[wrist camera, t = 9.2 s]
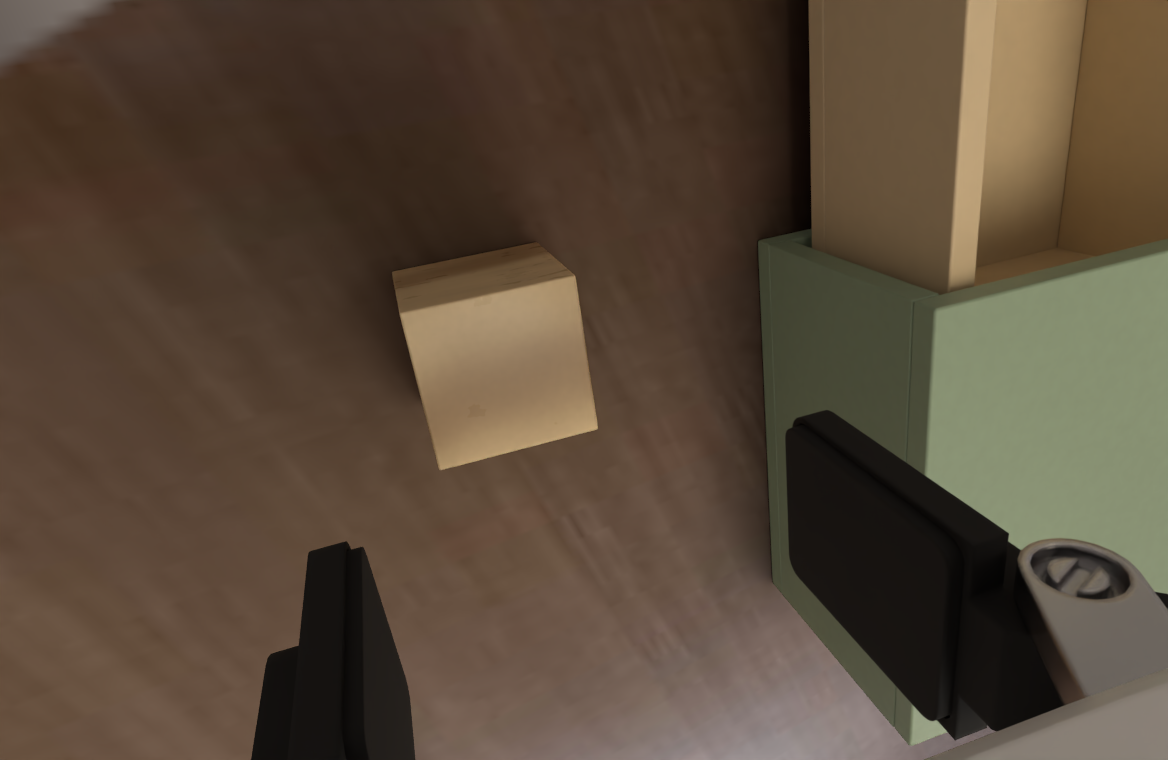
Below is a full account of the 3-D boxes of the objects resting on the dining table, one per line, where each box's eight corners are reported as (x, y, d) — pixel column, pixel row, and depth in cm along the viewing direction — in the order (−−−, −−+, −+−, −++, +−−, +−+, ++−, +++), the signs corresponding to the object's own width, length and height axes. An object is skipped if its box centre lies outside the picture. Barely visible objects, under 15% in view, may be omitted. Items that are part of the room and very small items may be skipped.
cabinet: (756, 239, 25) (935, 309, 17) (1063, 173, 27) (1338, 208, 20) (772, 582, 31) (910, 747, 23) (1023, 502, 33) (1222, 626, 26)
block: (391, 271, 22) (399, 313, 18) (537, 241, 23) (575, 274, 19) (425, 406, 24) (439, 471, 20) (559, 373, 25) (599, 429, 21)
